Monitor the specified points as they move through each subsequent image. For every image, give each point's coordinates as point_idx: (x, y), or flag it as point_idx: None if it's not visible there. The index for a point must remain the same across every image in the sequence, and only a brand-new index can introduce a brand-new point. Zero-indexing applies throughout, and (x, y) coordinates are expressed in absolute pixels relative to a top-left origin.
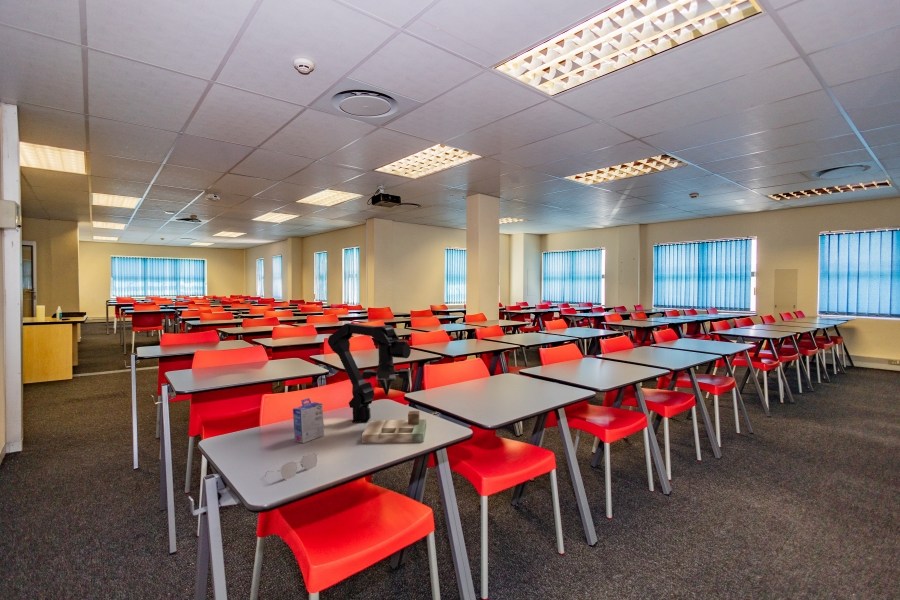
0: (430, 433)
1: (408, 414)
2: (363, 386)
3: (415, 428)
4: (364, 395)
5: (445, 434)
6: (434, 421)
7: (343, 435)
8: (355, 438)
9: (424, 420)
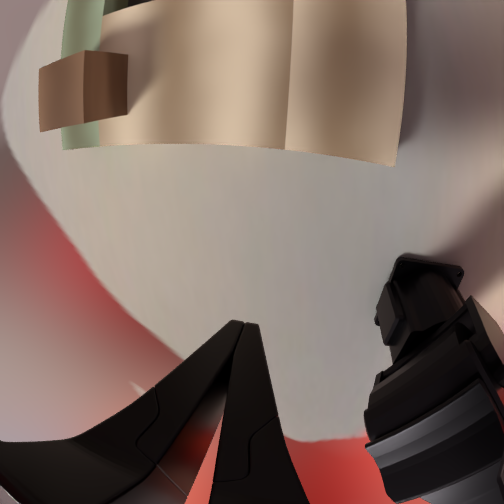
0: None
1: (83, 51)
2: (477, 450)
3: (96, 8)
4: (471, 367)
5: (35, 65)
6: (76, 213)
7: (499, 86)
8: (439, 17)
9: (66, 132)
